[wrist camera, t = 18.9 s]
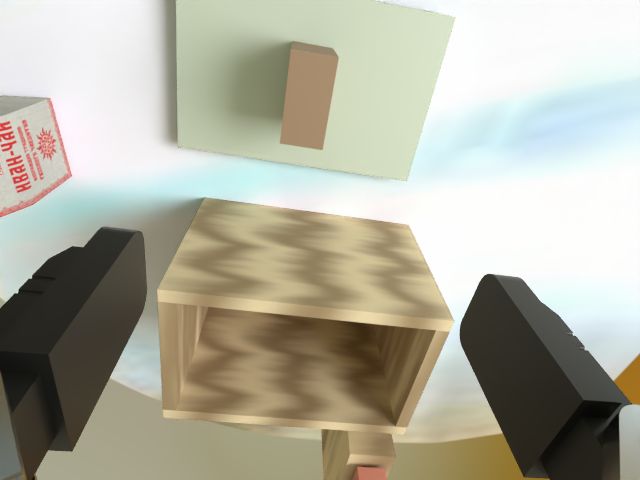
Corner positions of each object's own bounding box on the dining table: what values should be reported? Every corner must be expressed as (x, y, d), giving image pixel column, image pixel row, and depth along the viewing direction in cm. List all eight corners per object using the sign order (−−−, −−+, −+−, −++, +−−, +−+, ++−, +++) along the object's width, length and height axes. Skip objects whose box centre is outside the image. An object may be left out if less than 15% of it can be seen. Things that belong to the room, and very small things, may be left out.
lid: (183, 140, 35) (154, 173, 28) (182, -37, 28) (144, -50, 22) (402, 173, 37) (424, 211, 30) (448, 16, 31) (488, 19, 24)
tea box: (29, 174, 36) (-58, 228, 27) (3, 95, 32) (-107, 128, 24) (71, 176, 36) (-2, 230, 27) (50, 98, 32) (-42, 132, 24)
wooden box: (200, 385, 51) (164, 517, 38) (204, 197, 37) (151, 300, 24) (353, 398, 53) (369, 526, 40) (408, 225, 40) (459, 332, 27)
